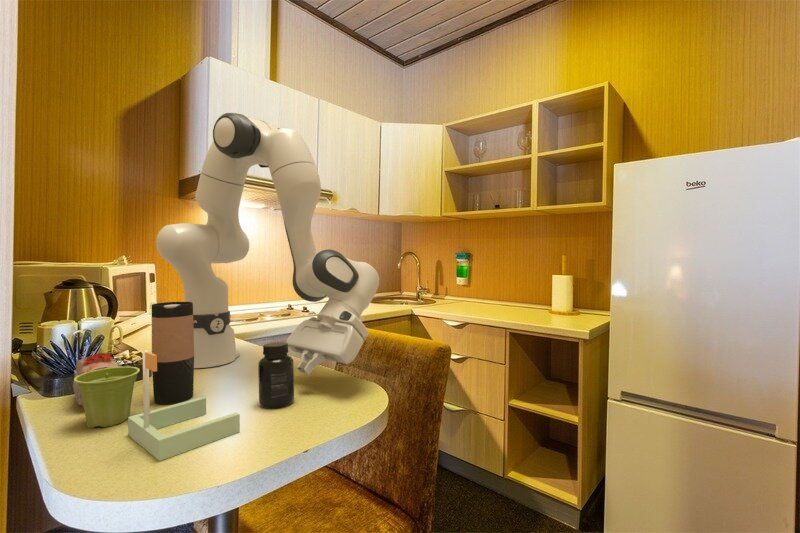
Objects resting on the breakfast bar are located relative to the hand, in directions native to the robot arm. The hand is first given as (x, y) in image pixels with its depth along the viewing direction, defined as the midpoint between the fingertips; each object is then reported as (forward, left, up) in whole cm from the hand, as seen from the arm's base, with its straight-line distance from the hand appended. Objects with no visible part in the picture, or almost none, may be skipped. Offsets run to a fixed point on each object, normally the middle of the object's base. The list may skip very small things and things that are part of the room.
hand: (302, 371), depth 83 cm
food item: (-30, -29, -5) cm, 42 cm away
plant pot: (-16, -30, -5) cm, 35 cm away
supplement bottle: (0, -6, -5) cm, 8 cm away
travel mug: (-19, -18, -5) cm, 27 cm away
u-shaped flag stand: (0, -23, -5) cm, 24 cm away
